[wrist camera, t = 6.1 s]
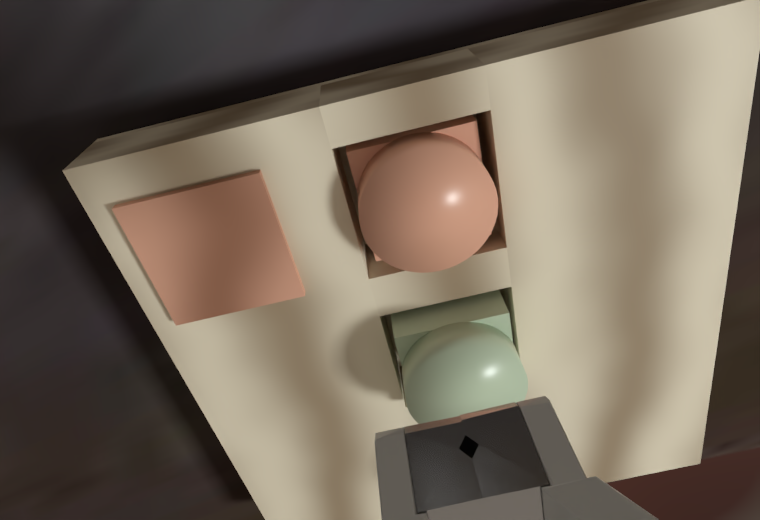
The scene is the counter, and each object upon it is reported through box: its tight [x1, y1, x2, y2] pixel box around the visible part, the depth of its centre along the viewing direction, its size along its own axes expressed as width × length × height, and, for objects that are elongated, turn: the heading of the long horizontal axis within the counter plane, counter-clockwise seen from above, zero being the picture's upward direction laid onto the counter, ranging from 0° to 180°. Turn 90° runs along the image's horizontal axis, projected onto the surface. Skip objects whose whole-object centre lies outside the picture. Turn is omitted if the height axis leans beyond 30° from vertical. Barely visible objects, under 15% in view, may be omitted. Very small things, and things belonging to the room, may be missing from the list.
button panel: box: [62, 0, 760, 520], centre depth 23 cm, size 22×22×3 cm
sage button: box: [391, 290, 528, 424], centre depth 22 cm, size 5×5×3 cm
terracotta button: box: [346, 115, 498, 273], centre depth 19 cm, size 5×5×3 cm
